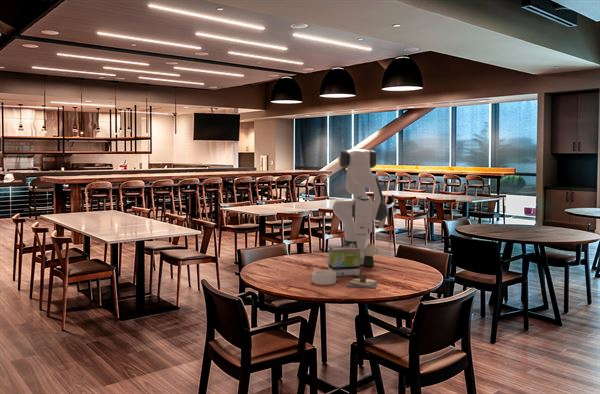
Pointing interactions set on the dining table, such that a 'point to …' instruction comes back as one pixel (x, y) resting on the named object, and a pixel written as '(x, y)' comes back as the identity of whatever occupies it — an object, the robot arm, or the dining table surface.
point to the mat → (362, 286)
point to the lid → (362, 281)
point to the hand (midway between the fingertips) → (363, 255)
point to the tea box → (344, 260)
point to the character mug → (369, 255)
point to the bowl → (324, 277)
